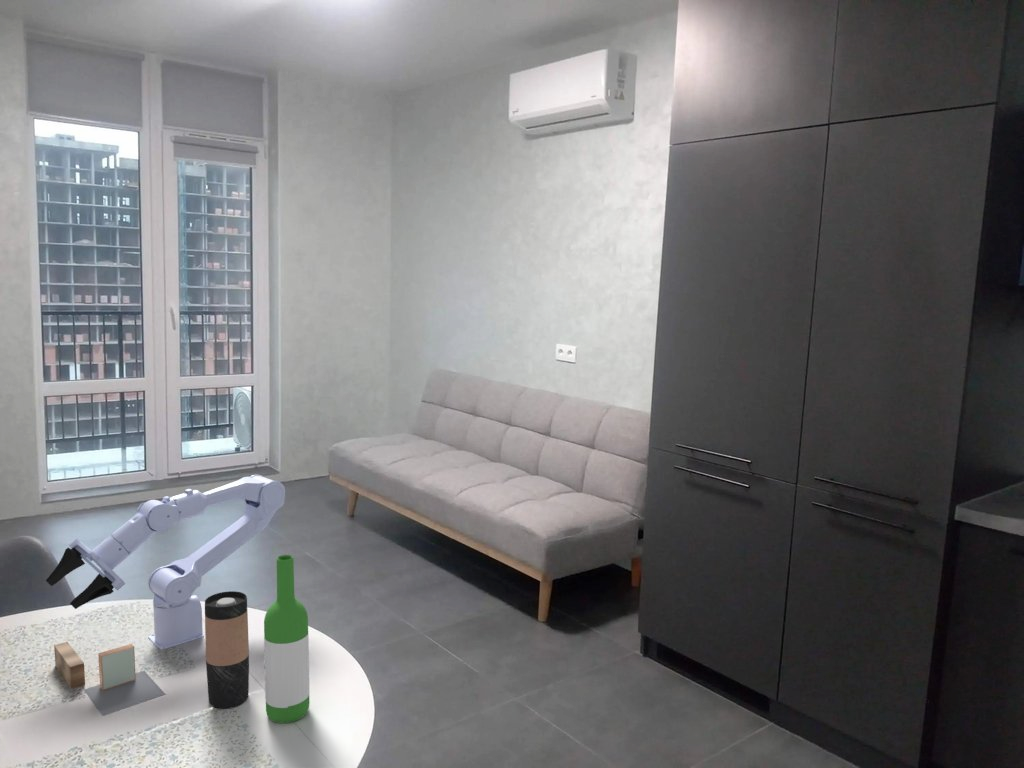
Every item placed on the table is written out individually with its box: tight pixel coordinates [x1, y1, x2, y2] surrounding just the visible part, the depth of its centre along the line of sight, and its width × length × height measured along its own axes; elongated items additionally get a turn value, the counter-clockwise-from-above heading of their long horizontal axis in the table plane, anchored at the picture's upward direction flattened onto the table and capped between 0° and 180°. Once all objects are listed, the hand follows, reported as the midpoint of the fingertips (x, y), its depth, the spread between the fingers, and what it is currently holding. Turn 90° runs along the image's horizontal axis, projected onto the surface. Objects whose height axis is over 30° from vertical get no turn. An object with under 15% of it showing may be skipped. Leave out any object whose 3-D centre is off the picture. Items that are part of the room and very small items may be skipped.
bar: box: [53, 641, 86, 689], centre depth 151 cm, size 12×2×5 cm, turn 44°
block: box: [97, 643, 136, 691], centre depth 147 cm, size 6×2×7 cm, turn 134°
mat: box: [83, 670, 166, 717], centre depth 145 cm, size 11×12×1 cm
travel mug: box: [204, 590, 250, 710], centre depth 143 cm, size 8×8×20 cm
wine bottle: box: [263, 554, 310, 724], centre depth 138 cm, size 8×8×30 cm
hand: (60, 594), depth 150 cm, fingers open, 7 cm apart
